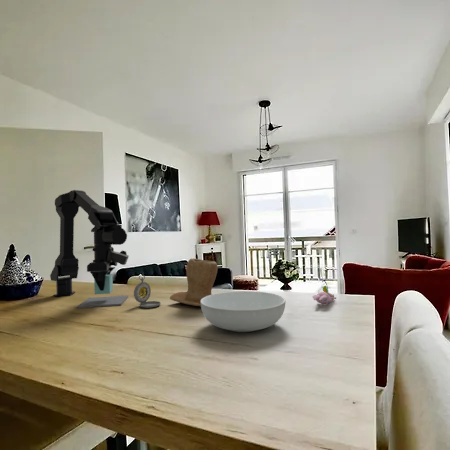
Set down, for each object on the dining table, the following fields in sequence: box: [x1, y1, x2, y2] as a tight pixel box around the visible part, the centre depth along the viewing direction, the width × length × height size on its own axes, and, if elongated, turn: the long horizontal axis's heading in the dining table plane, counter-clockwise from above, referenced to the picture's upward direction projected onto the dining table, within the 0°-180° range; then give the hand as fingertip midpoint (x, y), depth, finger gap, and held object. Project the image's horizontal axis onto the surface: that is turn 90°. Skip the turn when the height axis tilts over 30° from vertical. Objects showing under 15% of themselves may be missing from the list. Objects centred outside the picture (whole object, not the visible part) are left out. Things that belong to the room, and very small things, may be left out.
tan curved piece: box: [169, 257, 219, 307], centre depth 106 cm, size 15×12×15 cm
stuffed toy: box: [312, 285, 337, 306], centre depth 101 cm, size 6×6×15 cm
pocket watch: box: [133, 274, 161, 309], centre depth 106 cm, size 8×8×10 cm
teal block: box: [93, 273, 114, 295], centre depth 114 cm, size 5×5×6 cm
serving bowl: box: [200, 290, 286, 333], centre depth 80 cm, size 21×21×7 cm
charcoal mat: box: [76, 295, 129, 309], centre depth 114 cm, size 14×14×1 cm
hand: (103, 289), depth 114 cm, fingers closed on teal block, 5 cm apart
